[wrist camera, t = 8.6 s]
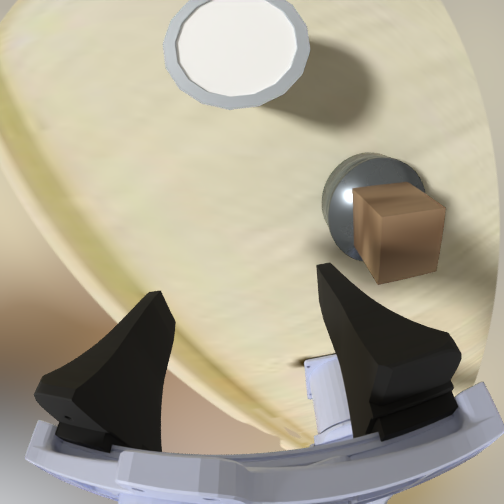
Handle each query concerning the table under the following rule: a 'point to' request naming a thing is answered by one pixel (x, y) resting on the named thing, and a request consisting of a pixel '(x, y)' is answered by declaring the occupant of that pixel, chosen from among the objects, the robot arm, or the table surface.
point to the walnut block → (397, 230)
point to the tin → (353, 176)
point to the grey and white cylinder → (236, 51)
